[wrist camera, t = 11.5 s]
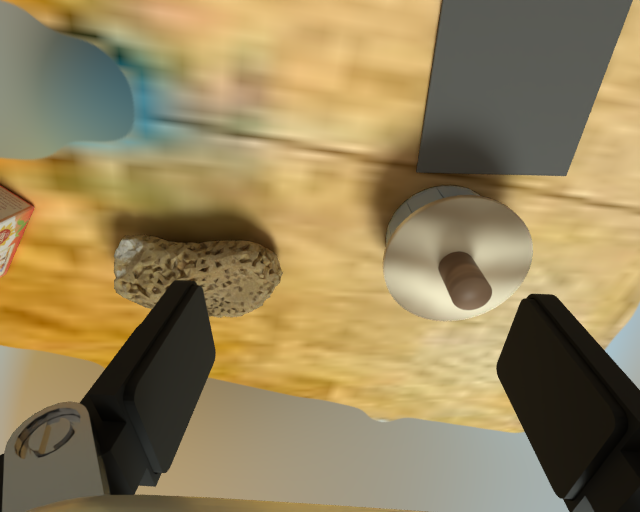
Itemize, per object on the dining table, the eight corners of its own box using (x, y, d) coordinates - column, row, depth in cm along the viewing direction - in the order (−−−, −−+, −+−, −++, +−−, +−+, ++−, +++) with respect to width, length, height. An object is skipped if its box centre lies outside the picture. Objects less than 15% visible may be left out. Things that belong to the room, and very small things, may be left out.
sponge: (143, 282, 50) (269, 333, 48) (100, 304, 43) (246, 365, 41) (156, 196, 46) (294, 248, 44) (110, 205, 38) (274, 267, 36)
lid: (390, 193, 33) (399, 218, 28) (549, 196, 33) (588, 223, 27) (377, 313, 41) (382, 350, 36) (505, 318, 40) (529, 356, 35)
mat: (443, -9, 30) (444, -10, 30) (632, -9, 29) (636, -10, 29) (416, 171, 38) (416, 172, 38) (564, 174, 37) (566, 175, 37)
